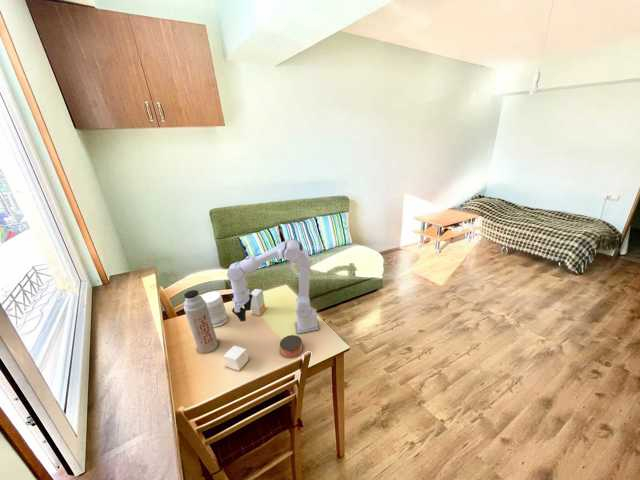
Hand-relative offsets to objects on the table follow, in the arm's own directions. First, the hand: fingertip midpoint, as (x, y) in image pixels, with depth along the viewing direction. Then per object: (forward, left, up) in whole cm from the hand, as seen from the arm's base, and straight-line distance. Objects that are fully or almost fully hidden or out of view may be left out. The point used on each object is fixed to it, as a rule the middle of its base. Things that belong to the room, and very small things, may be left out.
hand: (245, 315), depth 125 cm
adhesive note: (+4, +18, -10) cm, 21 cm away
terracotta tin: (-18, +17, -10) cm, 26 cm away
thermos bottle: (+17, +4, -10) cm, 21 cm away
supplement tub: (+15, -13, -10) cm, 23 cm away
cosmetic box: (-5, -15, -10) cm, 19 cm away
